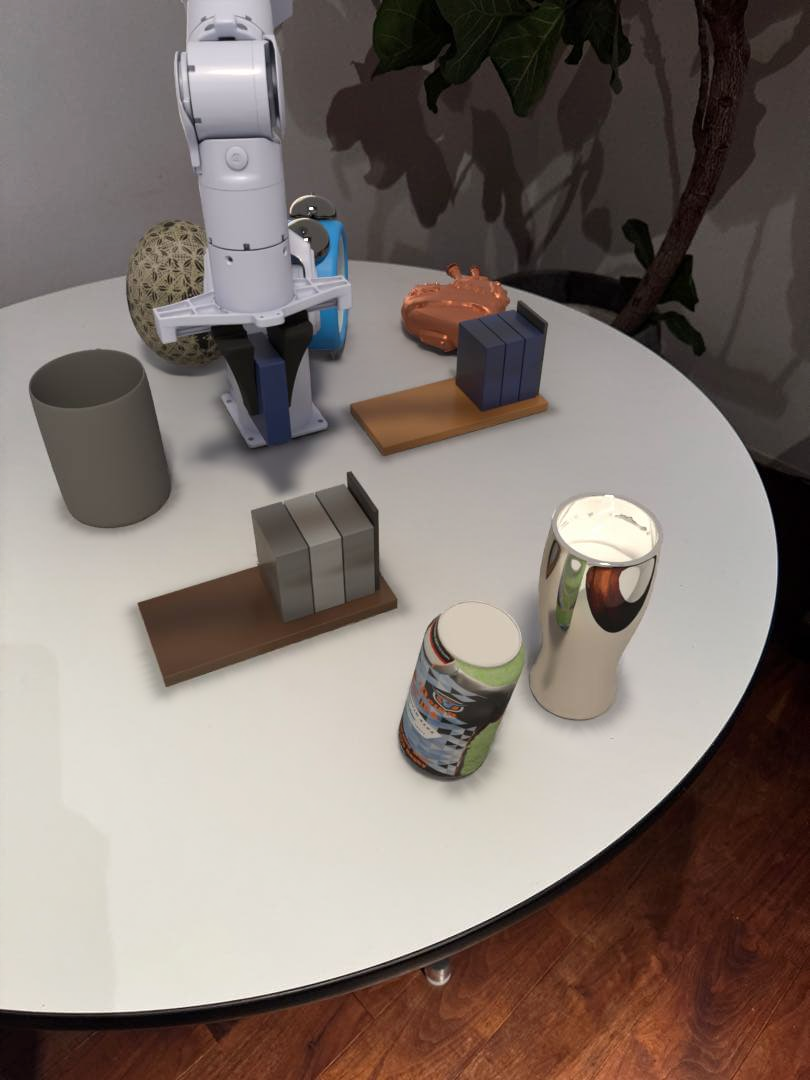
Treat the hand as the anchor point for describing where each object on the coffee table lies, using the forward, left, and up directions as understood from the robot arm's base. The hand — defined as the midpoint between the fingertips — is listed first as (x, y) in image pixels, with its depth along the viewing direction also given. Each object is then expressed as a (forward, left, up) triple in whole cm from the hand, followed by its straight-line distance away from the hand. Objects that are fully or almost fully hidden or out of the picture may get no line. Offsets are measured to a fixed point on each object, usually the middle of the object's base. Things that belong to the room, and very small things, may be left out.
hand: (267, 405), depth 69 cm
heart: (-20, +28, -10) cm, 36 cm away
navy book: (0, 0, -2) cm, 2 cm away
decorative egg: (-26, 0, -10) cm, 28 cm away
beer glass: (+28, +12, -10) cm, 32 cm away
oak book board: (-6, +20, -10) cm, 23 cm away
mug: (-9, -12, -10) cm, 18 cm away
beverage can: (+29, +2, -10) cm, 31 cm away
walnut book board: (+12, -5, -10) cm, 16 cm away
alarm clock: (-24, +13, -10) cm, 29 cm away
